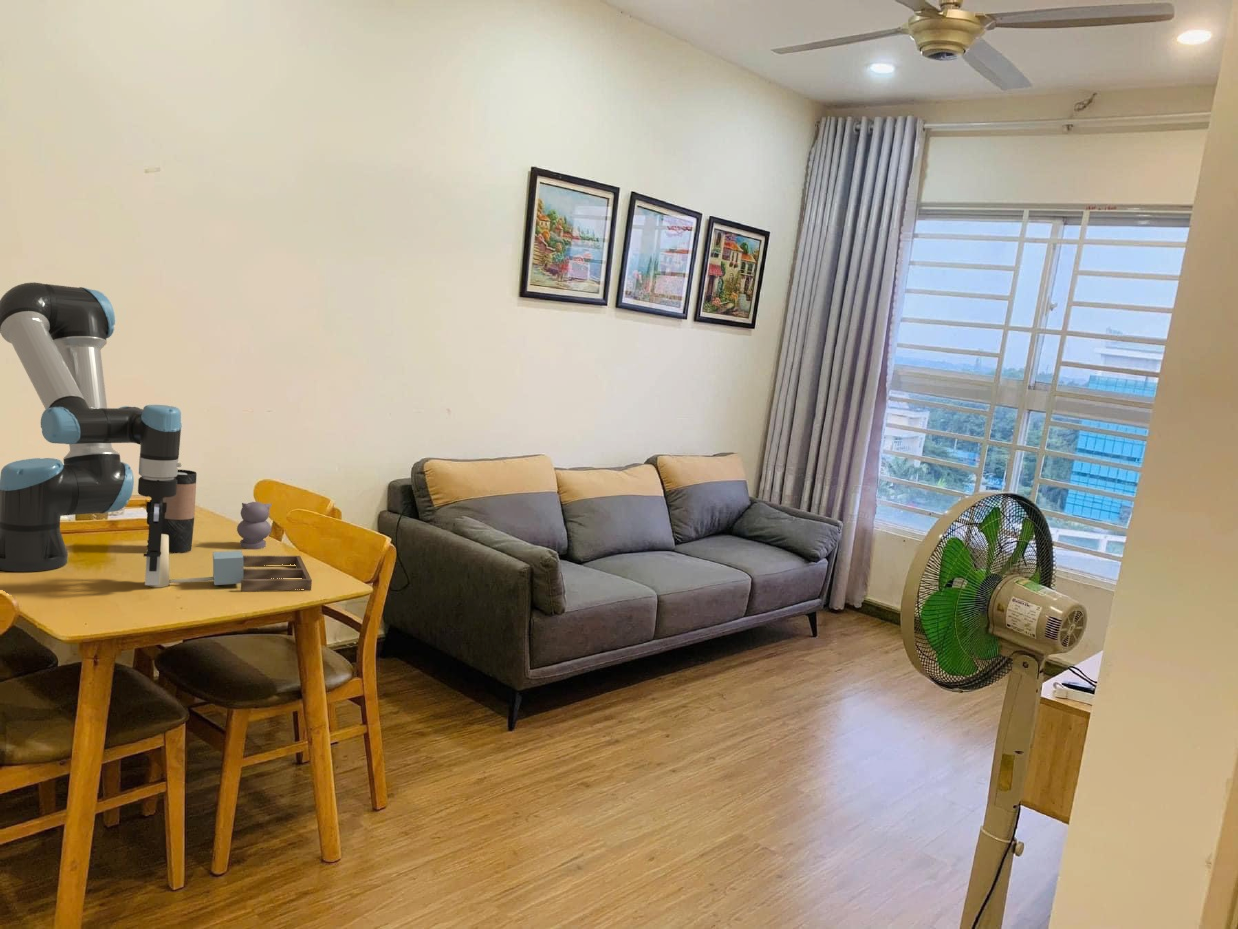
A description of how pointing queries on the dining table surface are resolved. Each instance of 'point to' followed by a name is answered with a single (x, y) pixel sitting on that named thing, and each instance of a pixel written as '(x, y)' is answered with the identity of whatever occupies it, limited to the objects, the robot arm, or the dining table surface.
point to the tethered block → (224, 567)
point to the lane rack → (274, 574)
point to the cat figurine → (254, 525)
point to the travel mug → (181, 513)
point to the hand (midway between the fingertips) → (151, 581)
